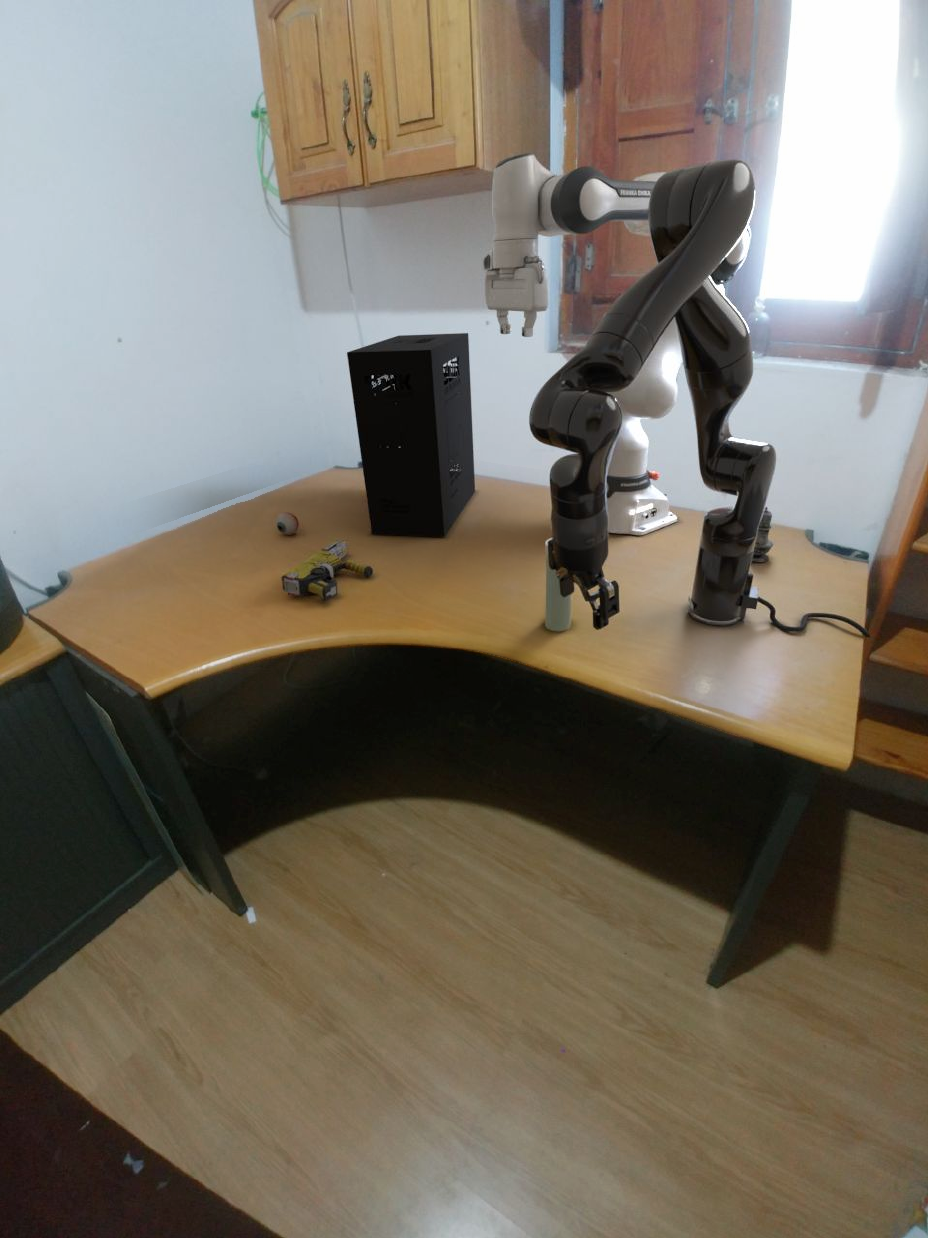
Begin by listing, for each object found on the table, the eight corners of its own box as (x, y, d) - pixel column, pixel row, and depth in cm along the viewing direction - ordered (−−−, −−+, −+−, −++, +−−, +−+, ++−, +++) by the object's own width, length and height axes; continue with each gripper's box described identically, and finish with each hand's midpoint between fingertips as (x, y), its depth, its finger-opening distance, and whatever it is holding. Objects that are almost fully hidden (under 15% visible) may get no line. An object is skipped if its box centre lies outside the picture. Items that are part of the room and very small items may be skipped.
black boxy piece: (444, 537, 157) (431, 349, 135) (371, 534, 162) (346, 352, 139) (475, 491, 189) (468, 332, 166) (413, 489, 193) (398, 335, 171)
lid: (554, 561, 106) (554, 550, 105) (539, 550, 110) (540, 540, 109) (580, 555, 107) (581, 544, 106) (565, 544, 112) (565, 534, 111)
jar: (552, 633, 114) (555, 552, 105) (540, 622, 118) (541, 542, 109) (575, 627, 115) (579, 547, 107) (562, 616, 119) (565, 537, 111)
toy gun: (389, 548, 145) (334, 537, 149) (339, 588, 125) (277, 575, 129) (389, 566, 147) (335, 555, 151) (340, 608, 127) (279, 595, 131)
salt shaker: (772, 562, 134) (784, 511, 128) (744, 561, 136) (754, 511, 130) (766, 552, 139) (777, 502, 133) (739, 551, 140) (749, 501, 134)
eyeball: (273, 537, 164) (268, 516, 161) (287, 528, 169) (282, 508, 166) (291, 539, 161) (286, 518, 158) (305, 530, 166) (301, 510, 163)
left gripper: (557, 254, 111) (556, 336, 118) (505, 258, 127) (506, 331, 134) (528, 255, 109) (527, 339, 116) (478, 260, 125) (481, 333, 132)
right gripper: (637, 544, 77) (633, 626, 89) (572, 493, 87) (576, 573, 99) (589, 570, 76) (591, 650, 88) (528, 515, 85) (537, 594, 97)
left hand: (516, 335), depth 125 cm, fingers open, 8 cm apart
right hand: (583, 609), depth 93 cm, fingers open, 8 cm apart
